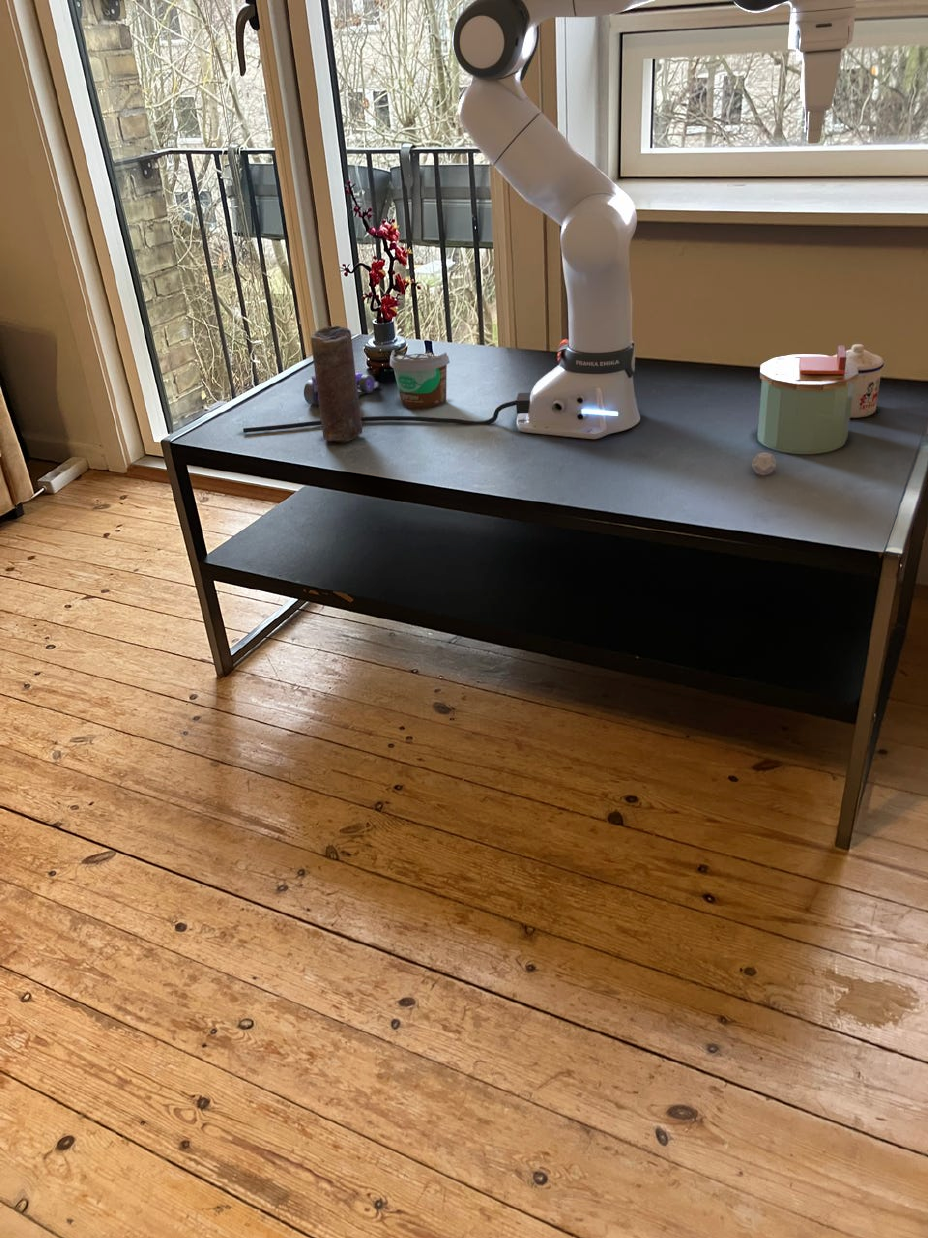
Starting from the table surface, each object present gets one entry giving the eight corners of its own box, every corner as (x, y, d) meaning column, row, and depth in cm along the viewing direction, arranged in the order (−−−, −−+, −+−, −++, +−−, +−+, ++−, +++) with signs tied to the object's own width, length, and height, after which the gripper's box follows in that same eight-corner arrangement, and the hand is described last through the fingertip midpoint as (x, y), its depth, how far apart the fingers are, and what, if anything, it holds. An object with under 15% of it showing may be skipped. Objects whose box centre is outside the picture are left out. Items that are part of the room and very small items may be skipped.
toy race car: (384, 387, 210) (380, 356, 207) (344, 412, 199) (339, 380, 196) (346, 383, 214) (342, 352, 211) (305, 407, 203) (300, 375, 200)
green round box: (756, 453, 167) (761, 388, 161) (758, 421, 179) (762, 360, 173) (848, 455, 163) (857, 390, 158) (843, 422, 175) (851, 360, 169)
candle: (370, 432, 189) (356, 325, 178) (354, 447, 183) (339, 338, 172) (334, 430, 191) (318, 325, 181) (317, 445, 185) (299, 337, 175)
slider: (800, 373, 162) (801, 358, 161) (799, 359, 168) (800, 344, 166) (844, 374, 160) (846, 358, 159) (842, 359, 166) (844, 344, 165)
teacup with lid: (867, 422, 174) (877, 355, 168) (815, 414, 179) (822, 349, 173) (888, 399, 183) (897, 336, 176) (837, 393, 187) (845, 330, 181)
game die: (756, 466, 163) (757, 448, 161) (778, 470, 161) (780, 452, 159) (747, 474, 160) (749, 456, 159) (770, 478, 158) (772, 460, 157)
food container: (383, 408, 199) (377, 359, 194) (397, 398, 204) (391, 349, 199) (441, 412, 195) (436, 362, 189) (453, 401, 199) (448, 352, 194)
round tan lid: (759, 389, 161) (759, 383, 161) (760, 359, 173) (760, 353, 173) (860, 390, 157) (860, 384, 157) (854, 360, 169) (855, 354, 169)
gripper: (795, 30, 154) (788, 130, 161) (800, 38, 137) (791, 149, 145) (839, 27, 153) (830, 127, 160) (849, 34, 136) (838, 146, 143)
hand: (811, 138), depth 152 cm, fingers open, 8 cm apart
